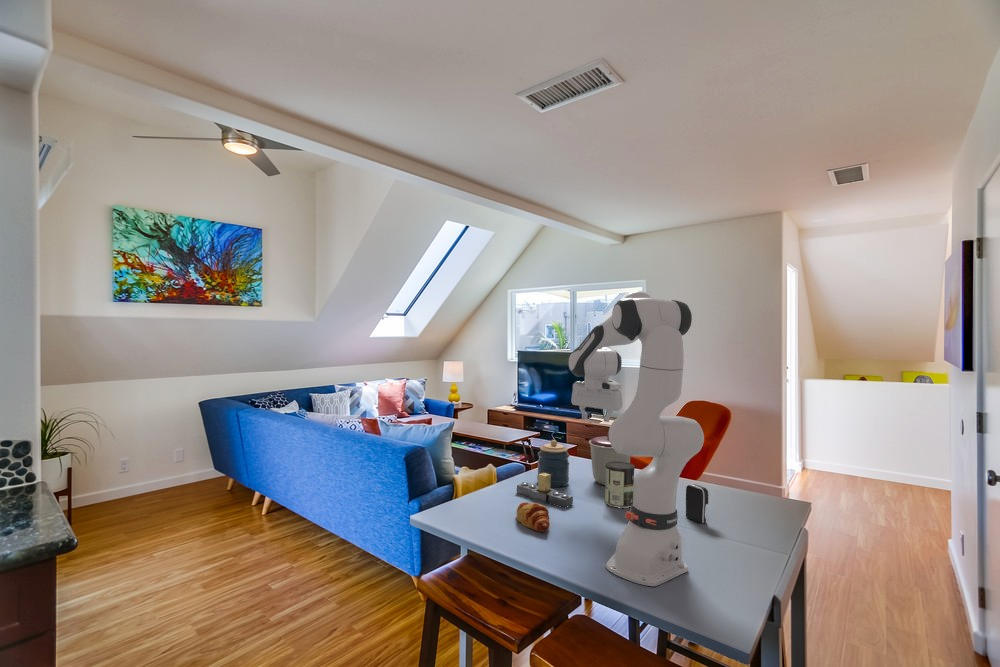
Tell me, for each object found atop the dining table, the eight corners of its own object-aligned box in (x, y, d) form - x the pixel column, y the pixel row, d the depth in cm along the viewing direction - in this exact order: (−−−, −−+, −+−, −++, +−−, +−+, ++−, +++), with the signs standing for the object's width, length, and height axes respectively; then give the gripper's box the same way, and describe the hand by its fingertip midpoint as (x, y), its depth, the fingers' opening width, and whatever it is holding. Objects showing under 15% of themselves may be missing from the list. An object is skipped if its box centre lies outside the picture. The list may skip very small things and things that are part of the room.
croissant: (513, 522, 163) (503, 502, 161) (537, 505, 166) (527, 486, 164) (538, 547, 143) (527, 524, 141) (565, 528, 146) (554, 506, 144)
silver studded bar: (562, 509, 166) (563, 498, 166) (515, 493, 181) (515, 484, 181) (574, 504, 171) (574, 494, 171) (526, 489, 186) (526, 480, 186)
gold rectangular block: (544, 500, 174) (545, 476, 174) (537, 498, 176) (538, 474, 176) (550, 498, 176) (550, 474, 176) (543, 496, 178) (543, 472, 178)
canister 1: (534, 478, 201) (535, 436, 201) (564, 478, 203) (565, 436, 203) (540, 488, 188) (541, 443, 188) (572, 487, 190) (573, 443, 190)
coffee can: (629, 499, 178) (630, 461, 178) (637, 509, 168) (638, 469, 168) (602, 498, 178) (603, 460, 178) (607, 508, 168) (608, 468, 168)
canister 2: (635, 480, 202) (636, 430, 203) (628, 492, 186) (630, 438, 186) (593, 473, 210) (594, 426, 210) (583, 485, 193) (584, 433, 193)
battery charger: (709, 523, 157) (710, 488, 157) (701, 524, 155) (702, 489, 155) (692, 515, 163) (693, 482, 163) (684, 517, 161) (685, 483, 162)
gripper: (568, 381, 184) (567, 416, 184) (616, 385, 170) (615, 424, 170) (577, 380, 189) (576, 415, 189) (624, 384, 175) (623, 422, 175)
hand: (595, 419), depth 179 cm, fingers open, 8 cm apart
